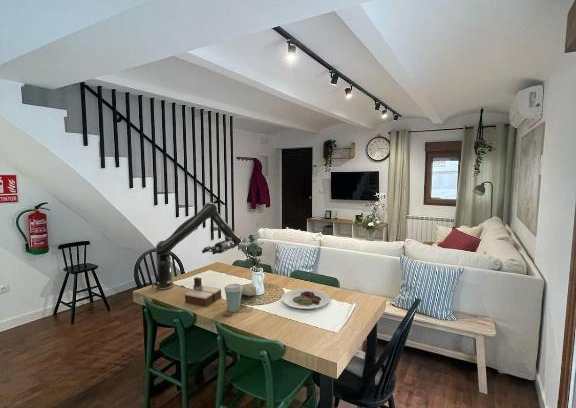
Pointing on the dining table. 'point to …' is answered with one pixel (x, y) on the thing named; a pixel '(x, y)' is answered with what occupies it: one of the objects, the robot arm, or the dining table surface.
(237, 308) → the disposable coffee cup
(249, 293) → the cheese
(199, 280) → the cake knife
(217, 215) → the robot arm
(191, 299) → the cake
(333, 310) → the dining table surface
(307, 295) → the plated food
